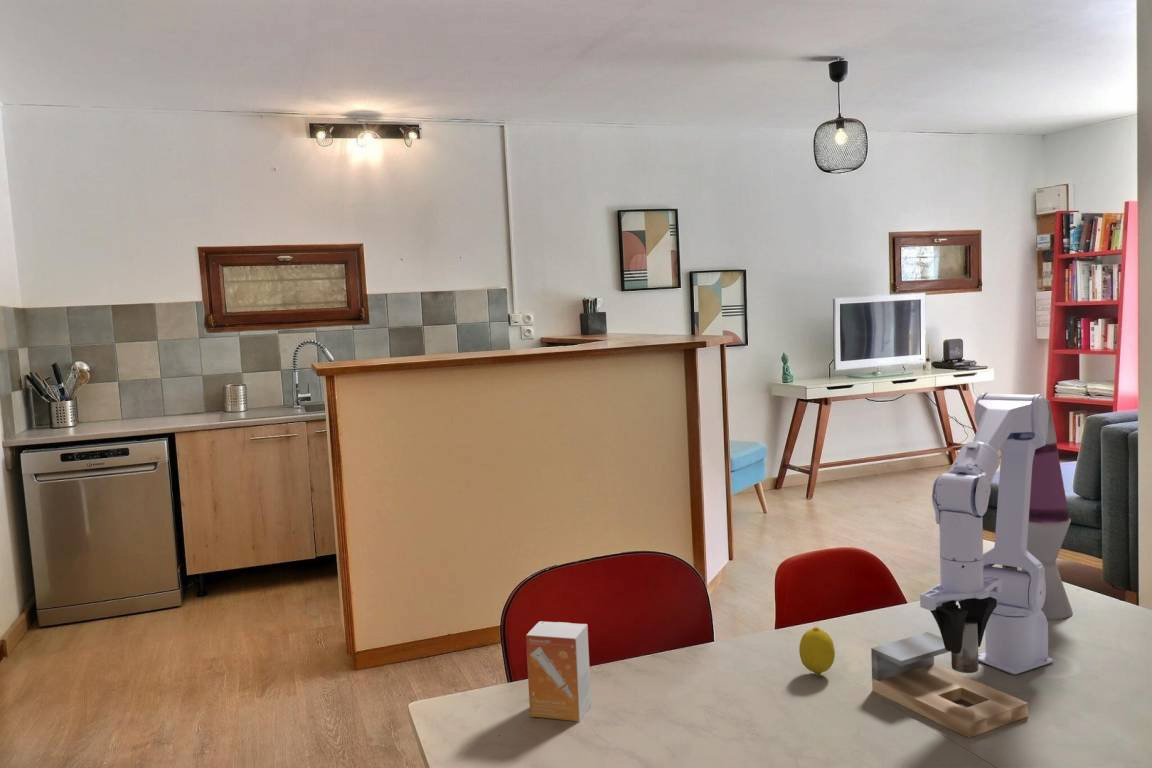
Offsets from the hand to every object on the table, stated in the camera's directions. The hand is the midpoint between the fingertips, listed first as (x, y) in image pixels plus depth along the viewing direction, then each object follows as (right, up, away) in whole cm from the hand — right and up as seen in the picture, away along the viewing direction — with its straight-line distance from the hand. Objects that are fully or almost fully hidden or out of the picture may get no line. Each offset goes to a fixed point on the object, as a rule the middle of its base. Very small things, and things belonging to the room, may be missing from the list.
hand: (962, 648), depth 130 cm
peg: (0, -3, 0) cm, 3 cm away
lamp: (+32, -5, +39) cm, 51 cm away
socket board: (-1, -9, +4) cm, 10 cm away
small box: (-58, -12, +8) cm, 60 cm away
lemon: (-17, -9, +16) cm, 25 cm away
